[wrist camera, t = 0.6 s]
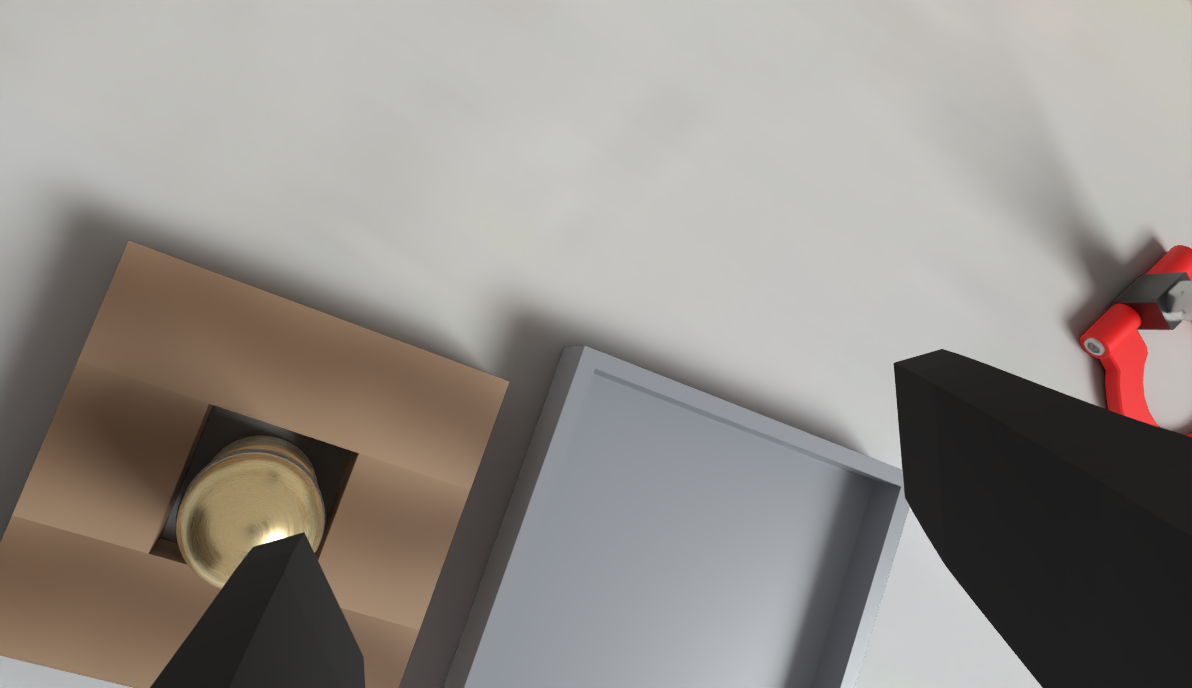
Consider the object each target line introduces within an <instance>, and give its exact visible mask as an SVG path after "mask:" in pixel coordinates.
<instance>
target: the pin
mask: <svg viewBox="0 0 1192 688" xmlns="http://www.w3.org/2000/svg"><path fill="white" fill-rule="evenodd" d="M324 527H325V506H324V502H323V497H322V494H321V491H320V489H319V486H318V482H317V478H316V474H315V471H314V468H313V466H312V464H311V462H310V460H309V459H308V458H307V456H306V455H305V454H304V453H303V452H302V451H301V450H300V449H299V448H298V447H296V446H295V445H293V444H292V443H290V442H288V441H286V440H283V439H281V438H277V437H273V436H266V435H258V436H250V437H246V438H242V439H240V440H237V441H235V442H233V443H231V444H229V445H227V446H226V447H225V448H223V449H222V450H221V451H220V452H219V453H217V454H216V456H215V457H214V458H213V459H212V460H211V461H210V463H209V464H208V465H207V466H206V467H205V468H203V469H202V470H201V471H200V472H199V473H198V474H197V475H196V477H195V478H194V479H193V480H192V481H191V482H190V484H189V486H188V487H187V489H186V490H185V492H184V494H183V496H182V498H181V501H180V504H179V507H178V511H177V516H176V534H177V541H178V545H179V549H180V551H181V554H182V556H183V558H184V560H185V562H186V563H187V565H188V566H189V567H190V569H191V570H192V571H193V572H194V573H195V574H196V575H197V576H198V577H199V578H200V579H201V580H203V581H204V582H206V583H207V584H208V585H210V586H212V587H214V588H216V589H219V590H221V589H222V588H223V586H224V585H225V583H226V582H227V581H228V579H229V578H230V576H231V575H232V574H233V572H234V571H235V570H236V568H237V567H238V565H239V564H240V563H241V561H242V560H243V559H244V558H245V556H246V555H247V554H248V553H249V551H250V550H251V549H252V548H253V547H254V546H257V545H261V544H264V543H268V542H271V541H275V540H278V539H282V538H285V537H289V536H292V535H296V534H299V533H303V532H305V534H306V536H307V539H308V541H309V543H310V545H311V547H312V549H313V551H314V553H315V552H316V551H317V549H318V547H319V545H320V542H321V540H322V536H323V533H324Z"/></svg>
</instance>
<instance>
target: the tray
mask: <svg viewBox="0 0 1192 688" xmlns="http://www.w3.org/2000/svg"><path fill="white" fill-rule="evenodd" d="M909 507H910V506H909V504H908V502H907V501H906V499H905V494H904V481H903V470H901V469H899V468H896V467H894V466H891V465H889V464H886V463H883V462H881V461H878V460H876V459H873V458H871V457H868V456H866V455H863V454H861V453H858V452H855V451H853V450H850V449H848V448H845V447H843V446H840V445H838V444H835V443H832V442H830V441H827V440H825V439H822V438H820V437H817V436H815V435H812V434H809V433H807V432H804V431H802V430H799V429H797V428H794V427H792V426H789V425H787V424H784V423H781V422H779V421H776V420H774V419H771V418H769V417H766V416H764V415H761V414H758V413H756V412H753V411H751V410H748V409H746V408H743V407H741V406H738V405H735V404H733V403H730V402H728V401H725V400H723V399H720V398H718V397H715V396H713V395H710V394H707V393H705V392H702V391H700V390H697V389H695V388H692V387H690V386H687V385H684V384H682V383H679V382H677V381H674V380H672V379H669V378H667V377H664V376H661V375H659V374H656V373H654V372H651V371H649V370H646V369H644V368H641V367H639V366H636V365H633V364H631V363H628V362H626V361H623V360H621V359H618V358H616V357H613V356H610V355H608V354H605V353H603V352H600V351H598V350H595V349H593V348H590V347H588V346H568V347H564V349H563V352H562V355H561V358H560V360H559V363H558V366H557V369H556V372H555V374H554V377H553V380H552V383H551V386H550V388H549V391H548V394H547V397H546V400H545V403H544V405H543V408H542V411H541V414H540V417H539V419H538V422H537V425H536V428H535V431H534V433H533V436H532V439H531V442H530V445H529V447H528V450H527V453H526V456H525V459H524V461H523V464H522V467H521V470H520V473H519V475H518V478H517V481H516V484H515V487H514V490H513V492H512V495H511V498H510V501H509V504H508V506H507V509H506V512H505V515H504V518H503V520H502V523H501V526H500V529H499V532H498V534H497V537H496V540H495V543H494V546H493V548H492V551H491V554H490V557H489V560H488V563H487V565H486V568H485V571H484V574H483V577H482V579H481V582H480V585H479V588H478V591H477V593H476V596H475V599H474V602H473V605H472V607H471V610H470V613H469V616H468V619H467V621H466V624H465V627H464V630H463V633H462V635H461V638H460V641H459V644H458V647H457V650H456V652H455V655H454V658H453V661H452V664H451V666H450V669H449V672H448V675H447V678H446V680H445V683H444V686H443V688H855V687H856V683H857V680H858V677H859V673H860V670H861V667H862V663H863V660H864V657H865V653H866V650H867V647H868V643H869V640H870V637H871V633H872V630H873V627H874V623H875V620H876V617H877V613H878V610H879V607H880V603H881V600H882V597H883V593H884V590H885V587H886V583H887V580H888V577H889V573H890V570H891V567H892V563H893V560H894V557H895V553H896V550H897V547H898V544H899V540H900V537H901V534H902V530H903V527H904V524H905V520H906V517H907V514H908V510H909Z"/></svg>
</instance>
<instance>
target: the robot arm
mask: <svg viewBox="0 0 1192 688" xmlns="http://www.w3.org/2000/svg"><path fill="white" fill-rule="evenodd" d="M894 372H895V384H896V397H897V409H898V421H899V433H900V445H901V457H902V469H903V481H904V494H905V499H906V501H907V502H908V504H909V506H910V507H911V509H912V511H913V513H914V514H915V516H916V518H917V519H918V521H919V523H920V525H921V526H922V528H923V530H924V532H925V533H926V535H927V537H928V538H929V540H930V541H931V543H932V545H933V546H934V548H935V549H936V551H937V553H938V554H939V556H940V558H941V559H942V561H943V562H944V564H945V566H946V567H947V568H948V569H949V571H950V572H951V573H952V575H953V576H954V577H955V578H956V580H957V581H958V582H959V584H960V585H961V586H962V587H963V589H964V590H965V591H966V592H967V594H968V595H969V596H970V598H971V599H972V600H973V601H974V603H975V604H976V605H977V606H978V608H979V609H980V610H981V611H982V613H983V614H984V615H985V617H986V618H987V619H988V620H989V621H990V623H991V624H992V625H993V626H994V628H995V629H996V630H997V631H998V633H999V634H1000V635H1001V636H1002V638H1003V639H1004V640H1005V641H1006V643H1007V644H1008V645H1009V646H1010V648H1011V649H1012V650H1013V651H1014V653H1015V654H1016V655H1017V656H1018V658H1019V659H1020V660H1021V661H1022V663H1023V664H1024V665H1025V666H1026V667H1027V669H1028V670H1029V671H1030V672H1031V674H1032V675H1033V676H1034V677H1035V679H1036V680H1037V681H1038V682H1039V684H1040V685H1041V686H1042V687H1043V688H1192V437H1189V436H1186V435H1183V434H1179V433H1176V432H1173V431H1170V430H1167V429H1163V428H1160V427H1157V426H1154V425H1151V424H1147V423H1145V422H1142V421H1139V420H1136V419H1133V418H1130V417H1127V416H1124V415H1121V414H1118V413H1115V412H1112V411H1110V410H1107V409H1104V408H1101V407H1098V406H1096V405H1093V404H1090V403H1087V402H1085V401H1082V400H1079V399H1076V398H1074V397H1071V396H1068V395H1066V394H1063V393H1060V392H1058V391H1055V390H1052V389H1050V388H1047V387H1045V386H1042V385H1039V384H1037V383H1034V382H1031V381H1029V380H1026V379H1024V378H1021V377H1018V376H1016V375H1013V374H1011V373H1008V372H1005V371H1003V370H1000V369H998V368H995V367H992V366H990V365H987V364H984V363H982V362H979V361H976V360H974V359H971V358H968V357H965V356H962V355H959V354H956V353H953V352H950V351H947V350H943V349H941V350H937V351H934V352H930V353H927V354H923V355H920V356H916V357H913V358H909V359H906V360H903V361H899V362H896V363H894ZM150 688H365V673H364V657H363V655H362V652H361V650H360V648H359V646H358V644H357V642H356V640H355V638H354V636H353V633H352V631H351V629H350V627H349V625H348V623H347V621H346V619H345V617H344V614H343V612H342V610H341V608H340V606H339V604H338V602H337V600H336V598H335V595H334V593H333V591H332V589H331V587H330V585H329V583H328V581H327V579H326V576H325V574H324V572H323V570H322V568H321V566H320V564H319V562H318V560H317V557H316V555H315V553H314V551H313V549H312V547H311V545H310V543H309V541H308V539H307V536H306V534H305V532H303V533H299V534H296V535H292V536H289V537H285V538H282V539H278V540H275V541H271V542H268V543H264V544H261V545H257V546H254V547H253V548H252V549H251V550H250V551H249V553H248V554H247V555H246V556H245V558H244V559H243V560H242V561H241V563H240V564H239V565H238V567H237V568H236V570H235V571H234V572H233V574H232V575H231V576H230V578H229V579H228V581H227V582H226V583H225V585H224V586H223V588H222V589H221V590H220V592H219V593H218V595H217V596H216V597H215V599H214V600H213V602H212V603H211V604H210V606H209V607H208V609H207V610H206V611H205V613H204V614H203V616H202V617H201V618H200V620H199V621H198V623H197V624H196V625H195V627H194V628H193V630H192V631H191V632H190V634H189V635H188V636H187V638H186V639H185V640H184V642H183V643H182V645H181V646H180V647H179V649H178V650H177V651H176V653H175V654H174V656H173V657H172V658H171V660H170V661H169V662H168V664H167V665H166V666H165V668H164V669H163V671H162V672H161V673H160V675H159V676H158V677H157V679H156V680H155V681H154V683H153V684H152V685H151V687H150Z"/></svg>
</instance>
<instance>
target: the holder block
mask: <svg viewBox="0 0 1192 688" xmlns="http://www.w3.org/2000/svg"><path fill="white" fill-rule="evenodd" d="M509 382H510V381H507V380H504V379H502V378H499V377H496V376H493V375H491V374H488V373H485V372H483V371H480V370H477V369H475V368H472V367H469V366H466V365H464V364H461V363H458V362H456V361H453V360H450V359H448V358H445V357H442V356H439V355H437V354H434V353H431V352H429V351H426V350H423V349H421V348H418V347H415V346H412V345H410V344H407V343H404V342H402V341H399V340H396V339H394V338H391V337H388V336H385V335H383V334H380V333H377V332H375V331H372V330H369V329H367V328H364V327H361V326H358V325H356V324H353V323H350V322H348V321H345V320H342V319H340V318H337V317H334V316H331V315H329V314H326V313H323V312H321V311H318V310H315V309H313V308H310V307H307V306H304V305H302V304H299V303H296V302H294V301H291V300H288V299H286V298H283V297H280V296H278V295H275V294H272V293H269V292H267V291H264V290H261V289H259V288H256V287H253V286H251V285H248V284H245V283H242V282H240V281H237V280H234V279H232V278H229V277H226V276H224V275H221V274H218V273H215V272H213V271H210V270H207V269H205V268H202V267H199V266H197V265H194V264H191V263H188V262H186V261H183V260H180V259H178V258H175V257H172V256H170V255H167V254H164V253H161V252H159V251H156V250H153V249H151V248H148V247H145V246H143V245H140V244H137V243H134V242H132V241H128V243H127V245H126V248H125V250H124V252H123V255H122V257H121V259H120V262H119V264H118V267H117V269H116V271H115V274H114V276H113V278H112V281H111V283H110V285H109V288H108V290H107V292H106V295H105V297H104V300H103V302H102V304H101V307H100V309H99V311H98V314H97V316H96V318H95V321H94V323H93V325H92V328H91V330H90V333H89V335H88V337H87V340H86V342H85V344H84V347H83V349H82V351H81V354H80V356H79V358H78V361H77V363H76V366H75V368H74V370H73V373H72V375H71V377H70V380H69V382H68V384H67V387H66V389H65V391H64V394H63V396H62V399H61V401H60V403H59V406H58V408H57V410H56V413H55V415H54V417H53V420H52V422H51V424H50V427H49V429H48V432H47V434H46V436H45V439H44V441H43V443H42V446H41V448H40V450H39V453H38V455H37V457H36V460H35V462H34V465H33V467H32V469H31V472H30V474H29V476H28V479H27V481H26V483H25V486H24V488H23V490H22V493H21V495H20V498H19V500H18V502H17V505H16V507H15V509H14V512H13V514H12V516H11V519H10V521H9V524H8V526H7V528H6V531H5V533H4V535H3V538H2V540H1V542H0V656H5V657H9V658H13V659H17V660H21V661H25V662H29V663H34V664H38V665H42V666H46V667H50V668H54V669H58V670H63V671H67V672H71V673H75V674H79V675H83V676H88V677H92V678H96V679H100V680H104V681H108V682H112V683H117V684H121V685H125V686H129V687H133V688H150V687H151V685H152V684H153V683H154V681H155V680H156V679H157V677H158V676H159V675H160V673H161V672H162V671H163V669H164V668H165V666H166V665H167V664H168V662H169V661H170V660H171V658H172V657H173V656H174V654H175V653H176V651H177V650H178V649H179V647H180V646H181V645H182V643H183V642H184V640H185V639H186V638H187V636H188V635H189V634H190V632H191V631H192V630H193V628H194V627H195V625H196V624H197V623H198V621H199V620H200V618H201V617H202V616H203V614H204V613H205V611H206V610H207V609H208V607H209V606H210V604H211V603H212V602H213V600H214V599H215V597H216V596H217V595H218V593H219V592H220V590H219V589H216V588H214V587H212V586H210V585H208V584H207V583H206V582H204V581H203V580H201V579H200V578H199V577H198V576H197V575H196V574H195V573H194V572H193V571H192V570H191V569H190V567H189V566H188V565H187V563H186V562H185V560H184V558H183V556H182V554H181V551H180V549H179V545H178V543H175V542H171V541H168V540H164V539H161V538H160V537H161V535H162V532H163V530H164V527H165V525H166V522H167V520H168V517H169V515H170V512H171V510H172V507H173V505H174V502H175V500H176V497H177V495H178V492H179V490H180V487H181V485H182V482H183V480H184V477H185V475H186V472H187V470H188V467H189V465H190V462H191V460H192V458H193V455H194V453H195V450H196V448H197V445H198V443H199V440H200V438H201V435H202V433H203V430H204V428H205V425H206V423H207V420H208V418H209V415H210V413H211V410H212V408H213V405H214V406H217V407H220V408H223V409H226V410H229V411H233V412H236V413H239V414H242V415H245V416H248V417H251V418H254V419H257V420H260V421H263V422H266V423H269V424H272V425H275V426H278V427H281V428H284V429H287V430H290V431H293V432H296V433H299V434H302V435H305V436H308V437H311V438H314V439H317V440H320V441H323V442H326V443H329V444H332V445H335V446H338V447H341V448H344V449H347V450H350V451H352V453H351V455H350V458H349V461H348V463H347V466H346V468H345V471H344V474H343V476H342V479H341V482H340V484H339V487H338V489H337V492H336V495H335V497H334V500H333V503H332V505H331V508H330V510H329V513H328V516H327V518H326V521H325V527H324V533H323V536H322V540H321V542H320V545H319V547H318V549H317V551H316V552H315V555H316V557H317V560H318V562H319V564H320V566H321V568H322V570H323V572H324V574H325V576H326V579H327V581H328V583H329V585H330V587H331V589H332V591H333V593H334V595H335V598H336V600H337V602H338V604H339V606H340V608H341V610H342V612H343V614H344V617H345V619H346V621H347V623H348V625H349V627H350V629H351V631H352V633H353V636H354V638H355V640H356V642H357V644H358V646H359V648H360V650H361V652H362V655H363V657H364V673H365V688H399V685H400V683H401V680H402V677H403V674H404V672H405V669H406V666H407V663H408V661H409V658H410V655H411V652H412V650H413V647H414V644H415V641H416V639H417V636H418V633H419V630H420V627H421V625H422V622H423V619H424V616H425V614H426V611H427V608H428V605H429V603H430V600H431V597H432V594H433V592H434V589H435V586H436V583H437V581H438V578H439V575H440V572H441V569H442V567H443V564H444V561H445V558H446V556H447V553H448V550H449V547H450V545H451V542H452V539H453V536H454V534H455V531H456V528H457V525H458V523H459V520H460V517H461V514H462V512H463V509H464V506H465V503H466V500H467V498H468V495H469V492H470V489H471V487H472V484H473V481H474V478H475V476H476V473H477V470H478V467H479V465H480V462H481V459H482V456H483V454H484V451H485V448H486V445H487V442H488V440H489V437H490V434H491V431H492V429H493V426H494V423H495V420H496V418H497V415H498V412H499V409H500V407H501V404H502V401H503V398H504V396H505V393H506V390H507V387H508V385H509Z"/></svg>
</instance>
